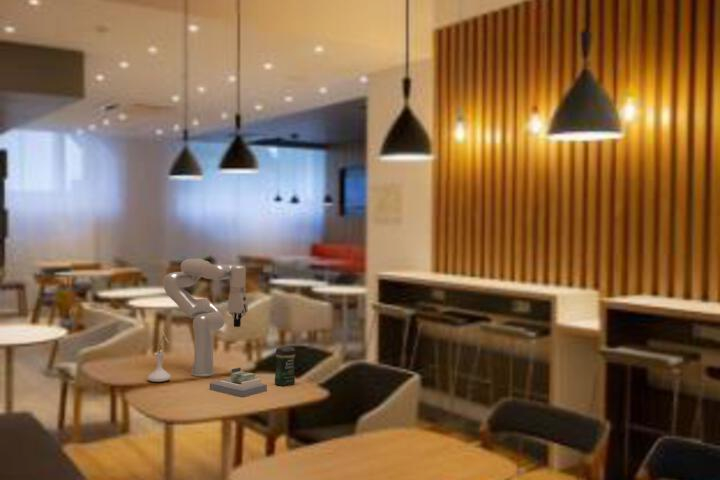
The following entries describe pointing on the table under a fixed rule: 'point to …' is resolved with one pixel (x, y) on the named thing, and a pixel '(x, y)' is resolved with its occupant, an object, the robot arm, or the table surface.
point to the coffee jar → (285, 366)
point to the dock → (239, 387)
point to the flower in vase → (159, 366)
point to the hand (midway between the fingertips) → (237, 326)
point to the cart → (241, 376)
